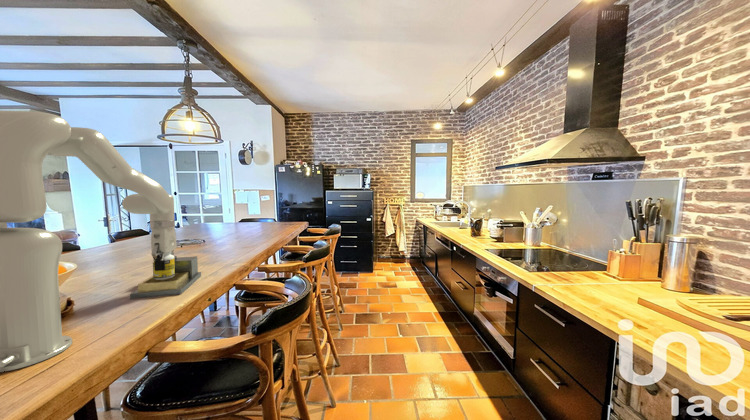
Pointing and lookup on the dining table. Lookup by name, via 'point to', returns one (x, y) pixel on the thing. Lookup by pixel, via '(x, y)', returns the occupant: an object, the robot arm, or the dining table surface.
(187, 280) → the tray
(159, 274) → the pill bottle
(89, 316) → the dining table surface
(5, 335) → the robot arm
